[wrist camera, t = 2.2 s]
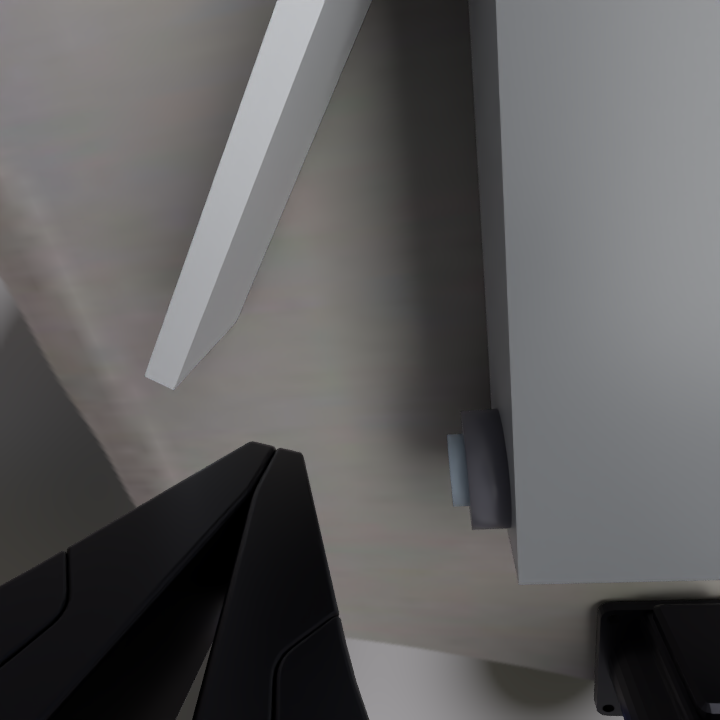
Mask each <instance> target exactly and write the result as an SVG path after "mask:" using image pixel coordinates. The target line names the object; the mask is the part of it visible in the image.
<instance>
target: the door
mask: <svg viewBox="0 0 720 720" xmlns="http://www.w3.org/2000/svg"><path fill="white" fill-rule="evenodd" d="M371 2H372V0H277V3H276V5H275V8H274V11H273V14H272V17H271V20H270V22H269V25H268V28H267V31H266V34H265V37H264V39H263V42H262V45H261V48H260V51H259V54H258V56H257V59H256V62H255V65H254V68H253V70H252V73H251V76H250V79H249V82H248V85H247V87H246V90H245V93H244V96H243V99H242V102H241V104H240V107H239V110H238V113H237V116H236V119H235V121H234V124H233V127H232V130H231V133H230V135H229V138H228V141H227V144H226V147H225V150H224V152H223V155H222V158H221V161H220V164H219V167H218V169H217V172H216V175H215V178H214V181H213V184H212V186H211V189H210V192H209V195H208V198H207V200H206V203H205V206H204V209H203V212H202V215H201V217H200V220H199V223H198V226H197V229H196V232H195V234H194V237H193V240H192V243H191V246H190V249H189V251H188V254H187V257H186V260H185V263H184V265H183V268H182V271H181V274H180V277H179V280H178V282H177V285H176V288H175V291H174V294H173V297H172V299H171V302H170V305H169V308H168V311H167V314H166V316H165V319H164V322H163V325H162V328H161V330H160V333H159V336H158V339H157V342H156V345H155V347H154V350H153V353H152V356H151V359H150V362H149V364H148V367H147V370H146V373H145V377H147V378H149V379H151V380H153V381H155V382H157V383H160V384H162V385H164V386H166V387H168V388H170V389H172V390H174V389H175V388H176V387H177V386H178V385H179V384H180V383H181V382H182V381H183V380H184V378H185V377H186V376H187V375H188V374H189V373H190V372H191V371H192V370H193V369H194V368H195V366H196V365H197V364H198V363H199V362H200V361H201V360H202V359H203V358H204V357H205V355H206V354H207V353H208V352H209V351H210V350H211V349H212V348H213V347H214V346H215V345H216V343H217V342H218V341H219V340H220V339H221V338H222V337H223V336H224V335H225V334H226V332H227V331H228V330H229V329H230V328H231V327H232V326H233V325H234V324H235V323H236V321H237V319H238V317H239V314H240V312H241V310H242V307H243V305H244V302H245V300H246V298H247V295H248V293H249V291H250V288H251V286H252V283H253V281H254V279H255V276H256V274H257V272H258V269H259V267H260V265H261V262H262V260H263V257H264V255H265V253H266V250H267V248H268V246H269V243H270V241H271V238H272V236H273V234H274V231H275V229H276V227H277V224H278V222H279V220H280V217H281V215H282V212H283V210H284V208H285V205H286V203H287V201H288V198H289V196H290V193H291V191H292V189H293V186H294V184H295V182H296V179H297V177H298V175H299V172H300V170H301V167H302V165H303V163H304V160H305V158H306V156H307V153H308V151H309V148H310V146H311V144H312V141H313V139H314V137H315V134H316V132H317V130H318V127H319V125H320V122H321V120H322V118H323V115H324V113H325V111H326V108H327V106H328V103H329V101H330V99H331V96H332V94H333V92H334V89H335V87H336V84H337V82H338V80H339V77H340V75H341V73H342V70H343V68H344V66H345V63H346V61H347V58H348V56H349V54H350V51H351V49H352V47H353V44H354V42H355V39H356V37H357V35H358V32H359V30H360V28H361V25H362V23H363V21H364V18H365V16H366V13H367V11H368V9H369V6H370V4H371Z"/></svg>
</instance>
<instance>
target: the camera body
mask: <svg viewBox="0 0 720 720" xmlns="http://www.w3.org/2000/svg"><path fill="white" fill-rule="evenodd" d="M468 4H469V22H470V40H471V57H472V75H473V92H474V110H475V127H476V145H477V163H478V180H479V198H480V215H481V233H482V250H483V268H484V286H485V303H486V321H487V338H488V356H489V373H490V391H491V409H484V410H470V411H461V423H462V434H449V435H447V442H448V454H449V466H450V477H451V487H452V498H453V506H469V508H470V517H471V525H472V530H478V529H503V528H507V529H508V534H509V539H510V544H511V549H512V553H513V558H514V563H515V568H516V573H517V578H518V583H519V585H526V584H569V583H611V582H654V581H696V580H720V0H468Z"/></svg>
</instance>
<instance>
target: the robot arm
mask: <svg viewBox="0 0 720 720" xmlns="http://www.w3.org/2000/svg"><path fill="white" fill-rule="evenodd" d="M212 642H213V643H212ZM211 644H212V647H211ZM210 647H211V651H210V655H209V658H208V662H207V666H206V670H205V674H204V677H203V681H202V685H201V689H200V692H199V696H198V700H197V704H196V707H195V711H194V715H193V719H192V720H369V718H368V715H367V712H366V709H365V706H364V703H363V700H362V697H361V694H360V691H359V688H358V685H357V682H356V678H355V675H354V671H353V667H352V663H351V660H350V656H349V652H348V648H347V645H346V640H345V636H344V632H343V627H342V623H341V619H340V618H339V611H338V607H337V602H336V598H335V593H334V589H333V585H332V580H331V576H330V571H329V567H328V562H327V558H326V554H325V549H324V545H323V540H322V536H321V532H320V527H319V523H318V518H317V514H316V510H315V505H314V501H313V496H312V492H311V487H310V483H309V479H308V474H307V470H306V465H305V461H304V457H303V455H302V453H300V452H296V451H292V450H288V449H283V448H279V449H277V450H276V449H275V447H274V446H271V445H266V444H262V443H258V442H253V441H252V442H249V443H247V444H245V445H243V446H242V447H240V448H238V449H236V450H235V451H233V452H231V453H229V454H228V455H226V456H224V457H223V458H221V459H219V460H217V461H216V462H214V463H212V464H211V465H209V466H207V467H205V468H204V469H202V470H200V471H199V472H197V473H195V474H193V475H192V476H190V477H188V478H187V479H185V480H183V481H181V482H180V483H178V484H176V485H175V486H173V487H171V488H169V489H168V490H166V491H164V492H163V493H161V494H159V495H157V496H156V497H154V498H152V499H150V500H149V501H147V502H145V503H144V504H142V505H140V506H138V507H137V508H135V509H133V510H132V511H130V512H128V513H126V514H125V515H123V516H121V517H120V518H118V519H116V520H114V521H113V522H111V523H110V524H108V525H106V526H104V527H102V528H101V529H99V530H98V531H96V532H94V533H92V534H90V535H89V536H87V537H85V538H84V539H82V540H80V541H78V542H77V543H75V544H73V545H71V546H70V547H68V549H67V553H66V552H65V551H61V552H59V553H57V554H56V555H54V556H52V557H50V558H49V559H47V560H45V561H44V562H42V563H40V564H38V565H37V566H35V567H33V568H31V569H30V570H28V571H26V572H24V573H22V574H21V575H19V576H17V577H15V578H13V579H11V580H10V581H8V582H6V583H4V584H2V585H1V586H0V720H176V718H177V716H178V714H179V712H180V710H181V707H182V705H183V703H184V701H185V699H186V697H187V695H188V693H189V691H190V688H191V686H192V684H193V682H194V680H195V678H196V676H197V674H198V672H199V670H200V668H201V665H202V663H203V661H204V659H205V657H206V655H207V653H208V651H209V649H210ZM594 701H595V705H596V708H597V711H598V712H599V713H600V714H602V715H607V716H623V717H624V720H720V600H695V601H639V602H608V603H604V604H602V605H601V606H600V607H599V608H598V612H597V637H596V662H595V688H594Z"/></svg>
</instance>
